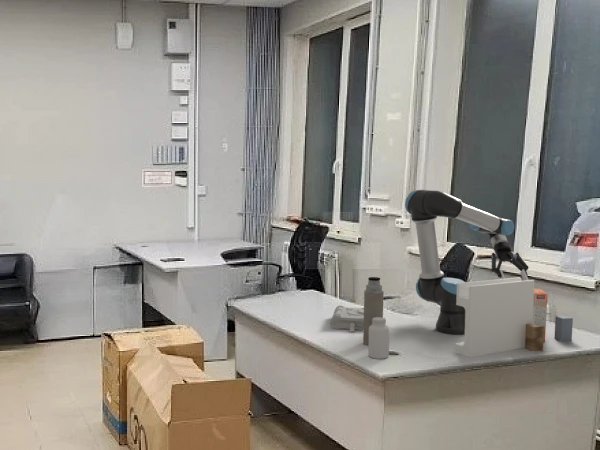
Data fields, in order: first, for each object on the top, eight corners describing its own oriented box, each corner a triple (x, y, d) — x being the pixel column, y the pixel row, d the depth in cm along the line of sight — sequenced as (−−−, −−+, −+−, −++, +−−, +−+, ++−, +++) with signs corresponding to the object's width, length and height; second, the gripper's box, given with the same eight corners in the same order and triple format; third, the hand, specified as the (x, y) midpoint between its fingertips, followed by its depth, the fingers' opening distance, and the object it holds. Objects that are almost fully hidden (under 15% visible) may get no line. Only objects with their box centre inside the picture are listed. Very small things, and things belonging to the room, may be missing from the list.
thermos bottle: (365, 340, 262) (366, 275, 260) (383, 342, 259) (385, 276, 257) (361, 344, 254) (362, 278, 252) (380, 347, 252) (381, 279, 250)
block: (468, 357, 239) (471, 286, 237) (454, 351, 246) (456, 283, 244) (531, 346, 256) (534, 280, 254) (516, 341, 263) (518, 277, 261)
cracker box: (546, 341, 263) (548, 293, 261) (531, 341, 264) (533, 293, 263) (539, 333, 277) (542, 288, 275) (525, 332, 278) (527, 287, 276)
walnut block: (531, 351, 249) (532, 326, 248) (525, 347, 254) (526, 323, 253) (543, 350, 250) (544, 326, 249) (536, 347, 255) (537, 323, 254)
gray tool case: (329, 332, 276) (329, 315, 275) (334, 318, 304) (334, 302, 303) (372, 335, 273) (372, 318, 273) (373, 320, 301) (374, 305, 300)
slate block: (561, 341, 264) (562, 318, 264) (554, 338, 269) (555, 315, 269) (571, 340, 265) (572, 318, 264) (564, 337, 270) (565, 315, 269)
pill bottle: (366, 353, 242) (367, 316, 241) (386, 353, 243) (387, 316, 242) (370, 359, 234) (371, 321, 233) (390, 359, 235) (391, 321, 234)
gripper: (519, 250, 306) (535, 286, 292) (476, 250, 302) (489, 287, 288) (525, 240, 301) (541, 277, 287) (481, 240, 297) (495, 278, 283)
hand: (515, 282), depth 287 cm, fingers open, 11 cm apart
